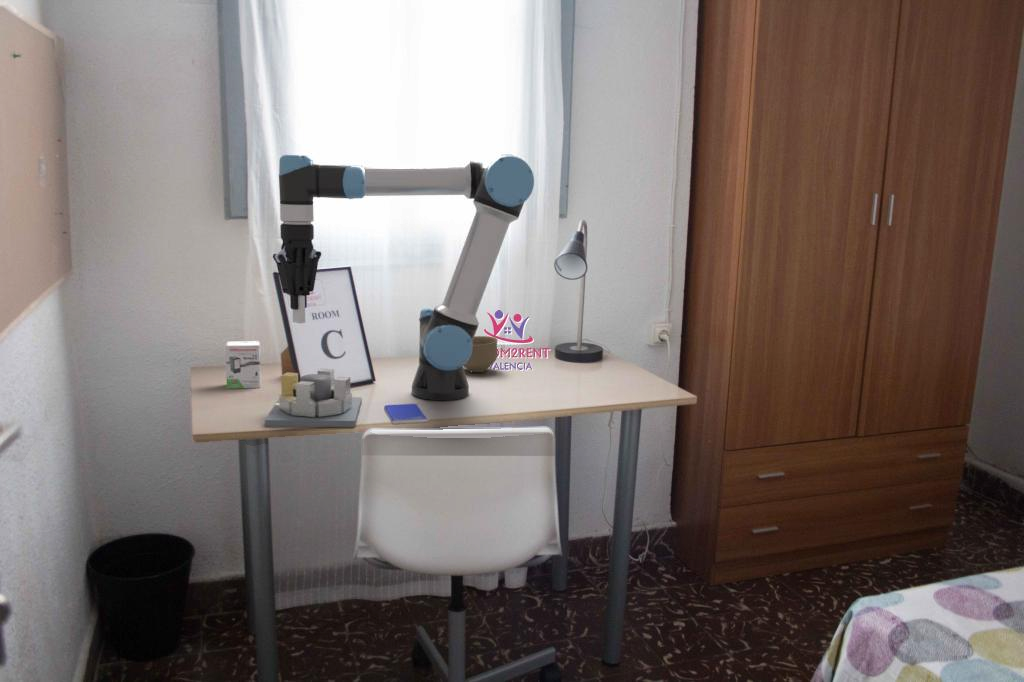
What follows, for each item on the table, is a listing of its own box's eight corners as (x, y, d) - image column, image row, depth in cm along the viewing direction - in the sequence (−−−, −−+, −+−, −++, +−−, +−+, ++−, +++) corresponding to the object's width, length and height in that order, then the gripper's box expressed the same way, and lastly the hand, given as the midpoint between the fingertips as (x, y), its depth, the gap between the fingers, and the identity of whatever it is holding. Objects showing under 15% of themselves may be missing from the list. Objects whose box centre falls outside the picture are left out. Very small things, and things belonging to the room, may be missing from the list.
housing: (361, 402, 207) (361, 368, 205) (355, 427, 187) (355, 389, 185) (280, 402, 204) (279, 367, 203) (265, 426, 185) (264, 388, 183)
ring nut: (297, 395, 204) (297, 366, 203) (358, 400, 202) (358, 371, 200) (270, 413, 189) (270, 381, 187) (336, 418, 187) (336, 387, 185)
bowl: (453, 366, 250) (454, 334, 248) (495, 367, 251) (496, 335, 249) (454, 376, 237) (455, 342, 235) (498, 377, 239) (499, 343, 237)
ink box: (226, 389, 214) (225, 345, 212) (227, 384, 219) (226, 341, 216) (260, 388, 217) (259, 344, 214) (260, 383, 221) (259, 340, 219)
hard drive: (427, 417, 193) (416, 403, 205) (392, 419, 191) (384, 404, 202) (427, 424, 194) (416, 409, 205) (392, 425, 191) (384, 411, 203)
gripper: (307, 221, 198) (309, 317, 203) (263, 222, 187) (266, 323, 192) (329, 222, 194) (330, 320, 199) (285, 224, 183) (288, 328, 188)
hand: (299, 322), depth 195 cm, fingers closed
